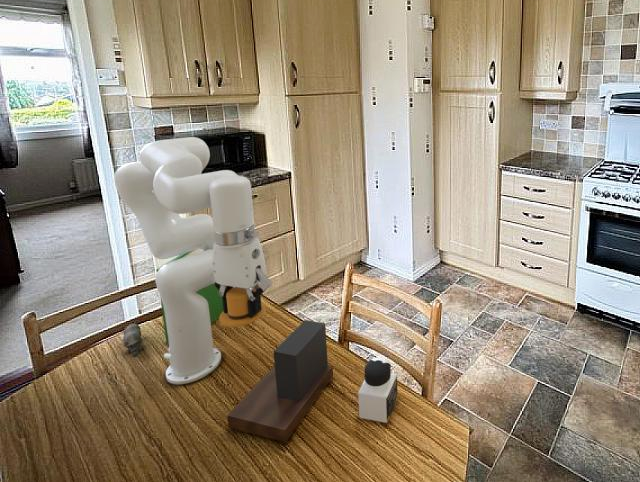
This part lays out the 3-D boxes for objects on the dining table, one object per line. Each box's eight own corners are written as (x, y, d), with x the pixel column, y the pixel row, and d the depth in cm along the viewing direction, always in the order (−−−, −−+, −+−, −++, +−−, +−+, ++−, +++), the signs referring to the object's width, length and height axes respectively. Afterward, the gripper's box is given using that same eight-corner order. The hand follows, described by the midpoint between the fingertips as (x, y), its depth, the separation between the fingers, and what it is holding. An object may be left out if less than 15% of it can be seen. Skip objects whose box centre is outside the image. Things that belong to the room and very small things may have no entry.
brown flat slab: (228, 430, 84) (226, 415, 83) (284, 368, 102) (283, 355, 101) (286, 445, 80) (284, 429, 80) (333, 378, 98) (332, 365, 98)
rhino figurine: (125, 367, 103) (122, 347, 102) (124, 341, 113) (121, 323, 112) (145, 359, 105) (142, 340, 104) (141, 335, 115) (139, 318, 114)
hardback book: (205, 308, 129) (198, 243, 125) (226, 308, 129) (219, 243, 125) (166, 343, 112) (156, 269, 108) (190, 343, 112) (181, 269, 108)
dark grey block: (276, 396, 88) (272, 351, 86) (307, 360, 100) (304, 319, 98) (299, 401, 87) (295, 355, 85) (327, 364, 98) (325, 323, 96)
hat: (209, 323, 79) (206, 299, 78) (241, 300, 88) (239, 278, 87) (244, 330, 77) (242, 305, 76) (274, 305, 86) (272, 283, 85)
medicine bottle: (387, 424, 85) (386, 378, 83) (358, 418, 87) (356, 373, 85) (398, 398, 92) (396, 355, 90) (371, 393, 94) (369, 351, 92)
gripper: (281, 231, 81) (287, 307, 84) (216, 224, 85) (224, 297, 88) (256, 245, 74) (264, 328, 77) (186, 237, 78) (196, 316, 81)
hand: (242, 310), depth 82 cm, fingers closed on hat, 5 cm apart
